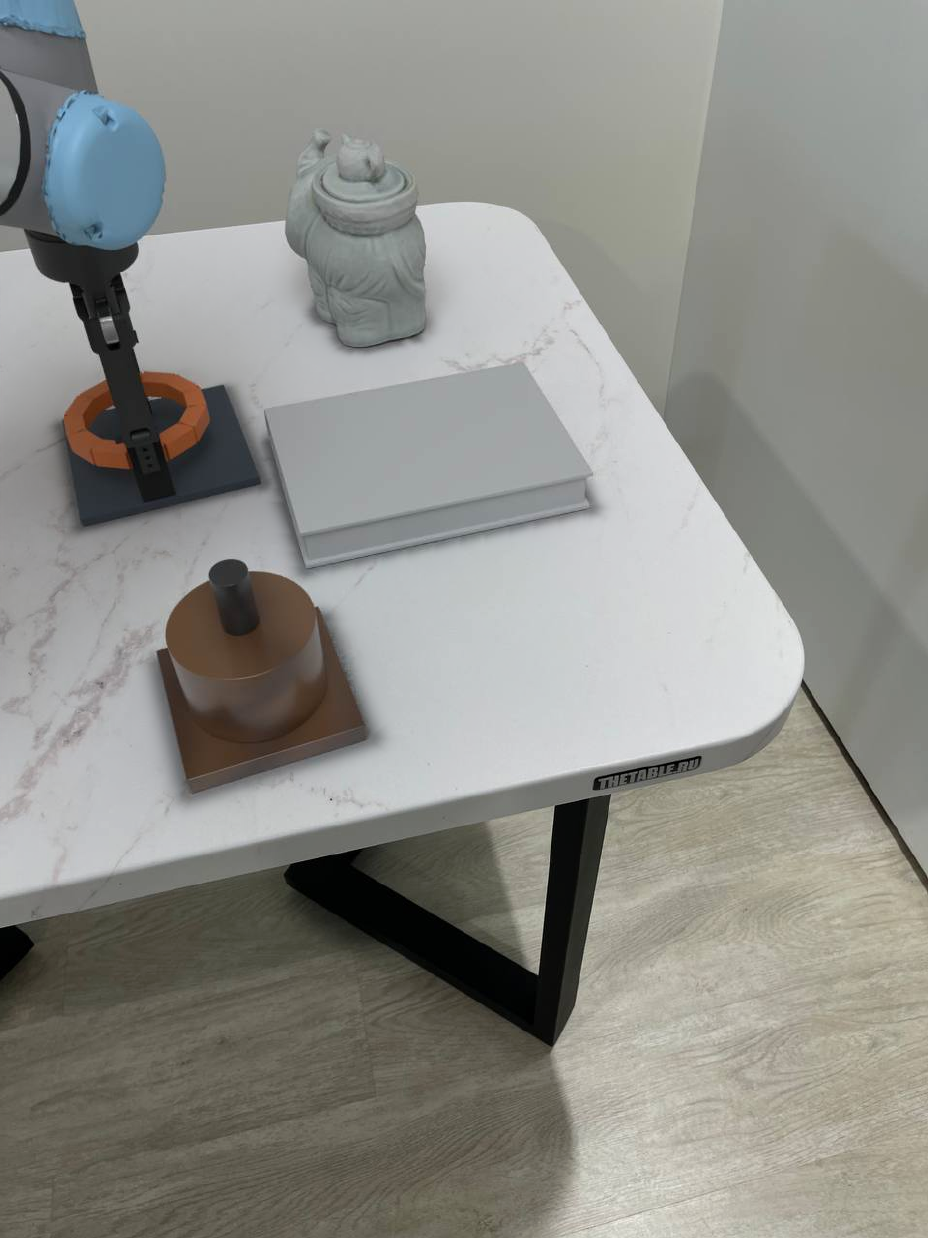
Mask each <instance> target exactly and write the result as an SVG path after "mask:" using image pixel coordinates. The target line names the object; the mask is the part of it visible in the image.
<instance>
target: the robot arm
mask: <svg viewBox="0 0 928 1238" xmlns="http://www.w3.org/2000/svg"><path fill="white" fill-rule="evenodd" d="M77 9H78V8H77V7H76V3H75V0H0V226H4V227H10V228H16V229H21V230H23V232H24V235H25V238H26V241H27V244H28V247H29V249H30V253H31V255H32V258H33V262H34V264H35V267H36V269H37V270H38V271H39V273H40V274H41V275H42V276H44V277H46V278H47V279H49V280H52V281H55V282H58V283H62V284H67V283H68V284H69V285H68V286H69V288H70V293H71V297H72V298H71V299H72V302H73V306H74V309H75V311H76V315H77V317H78V319H79V320H80V321H81V322H82V323H83V326H84V331H85V333H86V336H87V340H88V343H89V347H90V349H91V352H92V353H93V354H95V355H98V356H99V360H100V364H101V367H102V369H103V373H104V377H105V380H107V384H108V387H109V390H110V393H111V397H112V400H113V403H114V405H113V408H115V410H116V413H117V416H118V420H119V423H120V426H121V430H122V432H121V434H122V435H119V436H115V437H114V439H115V442H116V444H121V443H124V444H125V446H126V449H127V452H128V455H129V458H130V461H131V465H132V468H133V471H134V474H135V477H136V480H137V483H138V486H139V490H140V493H141V496H142V499H143V502H144V501H148V500H152V499H157V498H161V497H165V496H169V495H173V494H176V493H175V489H174V486H173V482H172V479H171V475H170V472H169V468H168V465H167V461H166V458H165V454H164V451H163V447H162V444H161V441H160V437H159V432H158V430H157V426H156V424H154V422H153V419H152V415H151V414H152V411H151V407H150V404H149V401H150V400H149V397H146V394H145V391H144V388H143V384H142V381H141V377H140V374H139V372H141V368H140V366H139V363H138V359H137V355H136V351H135V347H136V346H137V344H140V340H139V337H138V333H137V330H136V329H134V327H133V323H132V319H131V315H130V311H131V304H130V300H129V297H128V293H127V290H126V287H125V284H124V280H123V277H122V273H123V272H125V271H127V270H128V269H130V267H131V266H132V265H134V263H135V262H136V261H137V259H138V257H139V253H140V246H139V243H138V241H140V240H141V239H143V238H144V237H145V236H146V234H147V233H148V232H149V231H150V230H151V228H152V227H153V225H154V224H155V222H156V220H157V219H158V216H159V215H160V211H161V210H162V207H163V202H164V200H163V196H164V193H165V192H166V191H165V183H166V181H167V169H166V161H165V157H164V152H163V149H162V145H161V143H160V140H159V138H158V136H157V134H156V132H155V131H154V128H152V126H151V124H150V123H148V121H147V120H146V119H145V118H144V117H143V116H142V115H141V114H140V113H139V112H137V110H136V109H134V108H132V107H130V106H128V105H126V104H124V103H122V102H118V101H115V100H111V99H109V98H105V97H104V96H103V95H100V94H99V88H98V84H97V81H96V76H95V74H94V73H95V72H94V68H93V65H92V60H91V56H90V52H89V48H88V44H87V40H86V39H87V34H86V32H85V30H84V29H83V25H82V22H81V18H80V16H79V13H78V10H77Z"/></svg>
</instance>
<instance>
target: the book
mask: <svg viewBox="0 0 928 1238" xmlns="http://www.w3.org/2000/svg"><path fill="white" fill-rule="evenodd" d="M263 415H264V421H265V422H264V423H265V426H266V431H267V435H268V439H269V444H270V447H271V451H272V455H273V458H274V462H275V465H276V469H277V472H278V475H279V479H280V483H281V486H282V489H283V493H284V496H285V501H286V503H287V507H288V511H289V515H290V517H291V521H292V525H293V528H294V531H295V535H296V540H297V542H298V545H299V549H300V553H301V556H302V559H303V563H304V566H305V567H304V568H305V569H306V570H307V569H312V568H316V567H321V566H325V565H326V566H327V565H330V564H336V563H340V562H345V561H350V560H353V559H358V558H364V557H368V556H372V555H373V556H374V555H378V554H382V553H386V552H391V551H396V550H401V549H406V548H410V547H416V546H419V545H420V546H421V545H424V544H429V543H433V542H438V541H442V540H448V539H452V538H456V537H461V536H465V535H466V536H467V535H470V534H475V533H480V532H485V531H490V530H494V529H499V528H504V527H507V526H508V527H509V526H512V525H517V524H523V523H527V522H531V521H536V520H541V519H546V518H551V517H555V516H560V515H563V514H564V515H565V514H568V513H574V512H578V511H584V510H588V509H590V502H589V500H588V499H587V497H586V496H585V492H586V482H587V478H590V477H593V475H594V472H593V471H592V469H591V467H590V465H589V463H588V461H586V459H585V457H584V456H583V454H582V452H581V451H580V450H579V447H578V446H577V445H576V443H575V441H574V440H573V438H572V437H571V435H570V433H569V432H568V430H567V429H566V427H565V425H564V424H563V423H562V420H561V419H560V418H559V416H558V415H557V413H556V411H555V409H554V408H553V406H552V405H551V403H550V402H549V400H548V399H547V397H546V395H545V394H544V392H543V390H542V389H541V387H540V386H539V384H538V383H537V381H536V380H535V377H534V376H533V375H532V373H531V372H530V370H529V368H528V367H527V365H526V363H525V362H524V361H521V362H515V363H509V364H503V365H498V366H493V367H486V368H482V369H476V370H470V371H465V372H459V373H455V374H448V375H443V376H438V377H432V378H427V379H420V380H415V381H410V382H405V383H400V384H394V385H393V384H392V385H388V386H383V387H378V388H372V389H367V390H361V391H360V390H359V391H355V392H349V393H345V394H344V393H343V394H339V395H333V396H329V397H328V396H327V397H321V398H315V399H312V400H311V399H310V400H307V401H301V402H295V403H290V404H289V403H288V404H285V405H284V404H283V405H279V406H272V407H269V408H268V407H267V408H264V409H263Z"/></svg>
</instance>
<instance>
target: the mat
mask: <svg viewBox="0 0 928 1238" xmlns="http://www.w3.org/2000/svg"><path fill="white" fill-rule="evenodd" d="M201 391H202V393H203V396H204V399H205V402H206V405H207V409H208V413H209V417H210V422H209V424H208V426H207V428H206V429H205V431H204V433H203V435H202V437H201V438H200V440H199V442H197V443H196V444H195V445H193V446H192V447H190V448H188V449H187V450H185V451H184V452H182V453H180V454H179V455H177V456H176V457H174V458H172V459H171V460H170V459H168V458H167V459H168V461H167V465H168V468H169V472H170V475H171V479H172V482H173V486H174V489H175V493H176V494H173V495H169V496H165V497H161V498H157V499H152V500H148V501H144V502H143V499H142V496H141V493H140V490H139V486H138V483H137V480H136V477H135V474H134V471H133V469H132V467H131V468H130V469H122V468H112V467H101V466H97V465H93V464H92V463H90V462H88V461H87V460H85V459H84V458H82V457H80V456H79V455H77V454H76V453H74V452H73V450H72V449H71V446H70V444H69V441H68V438H67V435H66V430H65V424H64V419H63V418H62V419H61V421H62V427H63V433H64V438H65V443H66V449H67V454H68V461H69V463H70V464H69V465H70V470H71V476H72V481H73V487H74V492H75V497H76V503H77V508H78V513H79V519H80V522H81V524H82V526H83V527H87V526H91V525H95V524H100V523H103V522H108V521H112V520H117V519H120V518H124V517H128V516H133V515H136V514H141V513H145V512H149V511H150V512H151V511H154V510H158V509H162V508H166V507H171V506H174V505H178V504H183V503H187V502H191V501H195V500H198V499H203V498H208V497H211V496H215V495H220V494H223V493H227V492H232V491H235V490H236V491H237V490H239V489H240V490H241V489H244V488H249V487H252V486H256V485H261V483H262V482H261V477H260V475H259V472H258V469H257V466H256V464H255V462H254V459H253V456H252V454H251V451H250V449H249V446H248V443H247V441H246V438H245V436H244V432H243V431H242V428H241V426H240V422H239V419H238V418H237V415H236V413H235V409H234V408H233V404H232V402H231V399H230V396H229V394H228V392H227V388H226V387H225V384H220V385H215V386H210V387H207V388H201ZM149 404H150V407H151V411H152V414H151V415H152V419H153V422H154V424H156V426H157V430H158V432H159V434H160V433H162V432H164V431H165V430H167V429H169V428H170V427H172V426H174V425H175V424H177V423H178V422H179V420H180V419H181V417H182V415H183V413H184V412H185V410H186V407H184V406H182V405H181V404H179V403H177V402H175V401H173V400H171V399H169V398H154V399H150V400H149ZM88 431H89V432H91V433H92V434H94V435H96V436H97V437H99V438H101V439H102V440H113V441H115V439H114V437H115V436H119V435H122V434H121V432H122V430H121V426H120V423H119V420H118V416H117V413H116V410H115V407H113V408H108V409H106V410H104V411H103V412H101V413H99V414H98V415H97V417H96V418H95V420H94V421H93V423H92V424H91V426H90V427H89V428H88Z"/></svg>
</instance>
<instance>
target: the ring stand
mask: <svg viewBox="0 0 928 1238" xmlns="http://www.w3.org/2000/svg"><path fill="white" fill-rule="evenodd" d="M314 604H315V603H314V602H313V600H312V598H311V596H310V595H309V594H308V592H307V591H306V590H305V589H304V588H303V587H302V586H301V585H300V584H298V583H297V582H295V581H294V580H292V579H290V578H289V577H286V576H283V575H280V574H278V573H273V572H268V571H261V570H260V571H258V570H249V568H248V566H247V564H246V563H245V562H244V561H242V560H240V559H237V558H226V559H223V560H220V561H217V562H216V563H214V564H213V565H212V566H211V567H210V569H209V571H208V580H206V581H205V582H203V583H201V584H199V585H198V586H196V587H195V588H193V589H192V590H190V591H189V592H188V593H187V594H185V595H184V596H183V597H182V598H181V599H180V600H179V601H178V602H177V604H176V605H175V606H174V608H173V610H172V611H171V613H170V614H169V617H168V619H167V622H166V627H165V634H164V635H165V636H164V638H165V644H166V647H165V648H161V649H157V650H156V651H155V653H156V657H157V662H158V665H159V666H158V667H159V670H160V675H161V678H162V679H161V680H162V684H163V687H164V691H165V695H166V701H167V706H168V709H169V713H170V718H171V721H172V726H173V729H174V730H173V731H174V735H175V739H176V743H177V748H178V752H179V757H180V760H181V764H182V769H183V774H184V778H185V781H186V785H187V787H188V790H189V792H190V794H195V793H199V792H201V791H205V790H208V789H211V788H214V787H218V786H221V785H225V784H227V783H230V782H234V781H237V780H240V779H243V778H247V777H251V776H253V775H256V774H259V773H263V772H266V771H269V770H273V769H276V768H278V767H282V766H285V765H288V764H291V763H294V762H298V761H302V760H305V759H308V758H311V757H315V756H318V755H321V754H324V753H327V752H331V751H334V750H337V749H340V748H343V747H346V746H350V745H353V744H356V743H359V742H363V741H365V740H368V731H367V725H366V722H365V720H364V717H363V715H362V713H361V710H360V707H359V705H358V702H357V699H356V697H355V695H354V693H353V690H352V688H351V684H350V682H349V679H348V677H347V675H346V672H345V670H344V667H343V664H342V662H341V659H340V657H339V654H338V651H337V650H336V647H335V644H334V642H333V639H332V637H331V634H330V632H329V630H328V627H327V624H326V622H325V620H324V616H323V614H322V612H321V609H320V607H319V606H315V605H314Z"/></svg>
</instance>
